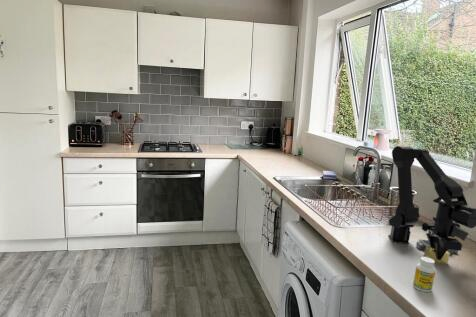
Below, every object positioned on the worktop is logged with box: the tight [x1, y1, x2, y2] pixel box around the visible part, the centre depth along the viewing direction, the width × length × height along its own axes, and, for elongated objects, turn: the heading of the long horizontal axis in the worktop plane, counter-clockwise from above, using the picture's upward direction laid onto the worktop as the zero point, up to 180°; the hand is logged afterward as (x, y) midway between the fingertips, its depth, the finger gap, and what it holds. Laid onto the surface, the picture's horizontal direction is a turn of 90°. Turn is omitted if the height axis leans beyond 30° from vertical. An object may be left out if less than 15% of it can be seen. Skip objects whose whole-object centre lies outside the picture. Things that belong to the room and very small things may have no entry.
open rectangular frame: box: [415, 238, 459, 256], centre depth 143 cm, size 15×6×3 cm, turn 86°
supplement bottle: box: [412, 256, 436, 293], centre depth 112 cm, size 5×5×10 cm
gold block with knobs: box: [423, 247, 450, 264], centre depth 134 cm, size 7×4×5 cm, turn 87°
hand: (436, 257), depth 134 cm, fingers closed on gold block with knobs, 3 cm apart
